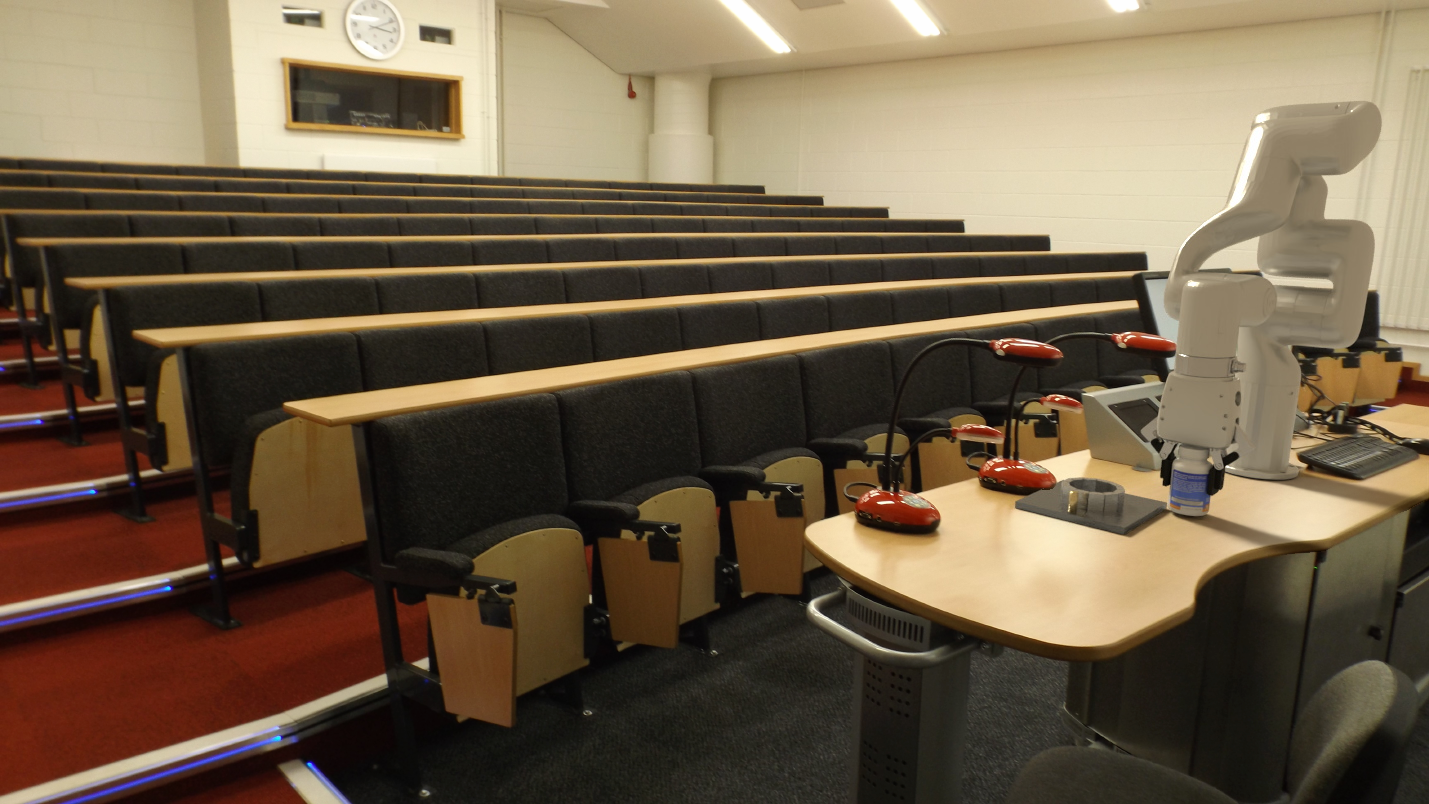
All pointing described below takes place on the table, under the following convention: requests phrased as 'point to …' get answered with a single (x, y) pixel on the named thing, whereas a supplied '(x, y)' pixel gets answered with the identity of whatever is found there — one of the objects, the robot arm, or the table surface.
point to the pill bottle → (1190, 481)
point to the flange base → (1094, 517)
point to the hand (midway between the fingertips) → (1190, 487)
